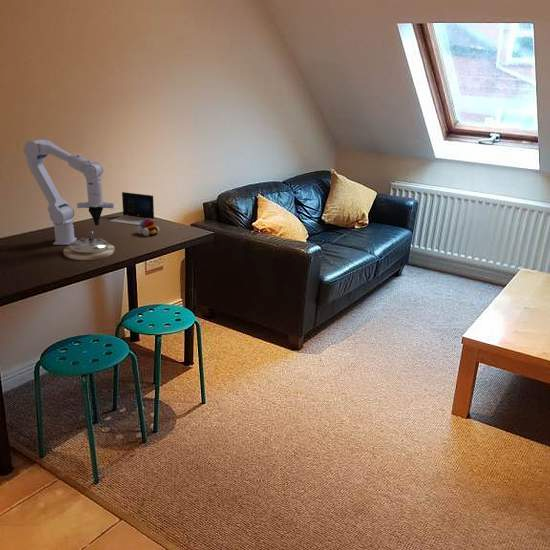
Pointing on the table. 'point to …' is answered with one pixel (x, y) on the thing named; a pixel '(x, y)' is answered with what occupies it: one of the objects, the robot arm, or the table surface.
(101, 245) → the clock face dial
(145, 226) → the red white round cluster
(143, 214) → the laptop
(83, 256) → the base plate
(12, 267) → the table surface
